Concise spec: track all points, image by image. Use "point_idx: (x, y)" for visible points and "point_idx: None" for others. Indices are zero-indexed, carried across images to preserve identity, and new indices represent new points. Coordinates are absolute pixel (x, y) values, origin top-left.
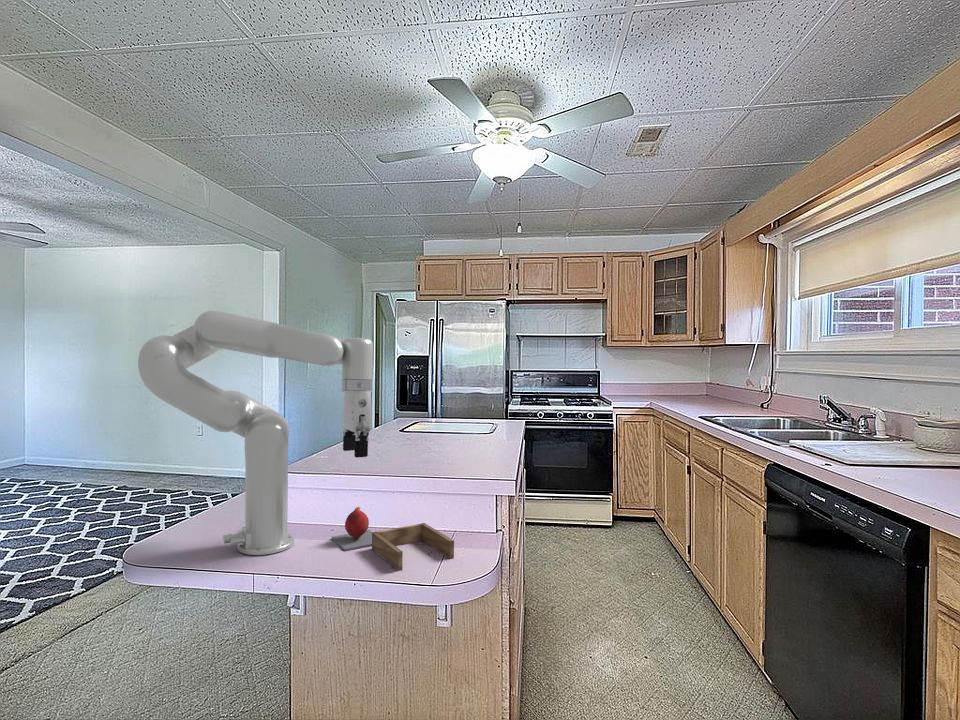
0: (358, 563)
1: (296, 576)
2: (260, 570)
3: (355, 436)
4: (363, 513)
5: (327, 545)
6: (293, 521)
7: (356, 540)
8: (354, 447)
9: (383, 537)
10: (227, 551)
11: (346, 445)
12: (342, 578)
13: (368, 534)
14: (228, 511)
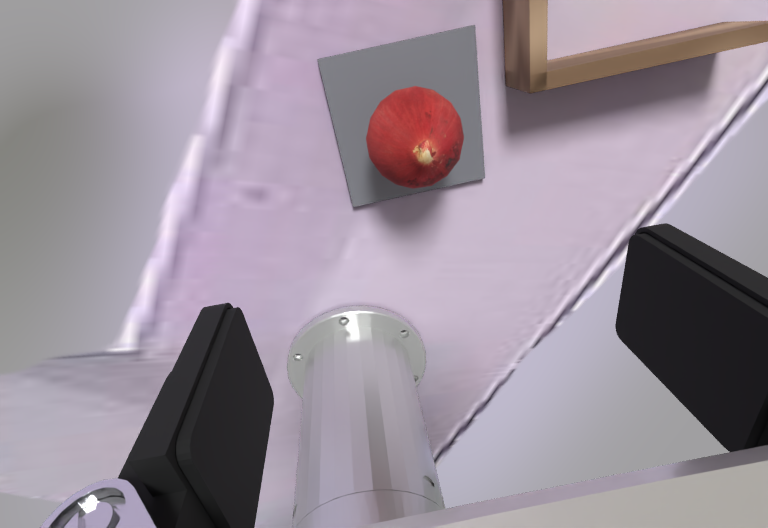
0: (593, 148)
1: (582, 294)
2: (508, 357)
3: (192, 440)
4: (437, 122)
5: (409, 220)
6: (134, 308)
7: None
8: (236, 329)
9: (607, 59)
10: None
11: (261, 424)
12: (658, 201)
13: (372, 73)
14: (10, 464)
